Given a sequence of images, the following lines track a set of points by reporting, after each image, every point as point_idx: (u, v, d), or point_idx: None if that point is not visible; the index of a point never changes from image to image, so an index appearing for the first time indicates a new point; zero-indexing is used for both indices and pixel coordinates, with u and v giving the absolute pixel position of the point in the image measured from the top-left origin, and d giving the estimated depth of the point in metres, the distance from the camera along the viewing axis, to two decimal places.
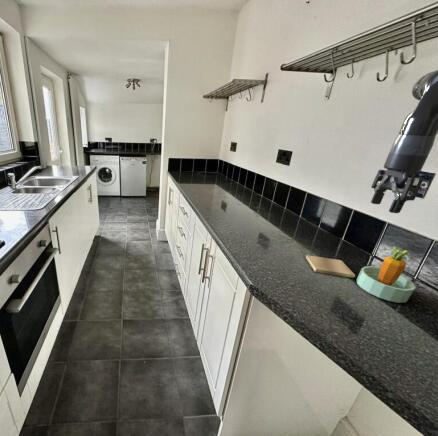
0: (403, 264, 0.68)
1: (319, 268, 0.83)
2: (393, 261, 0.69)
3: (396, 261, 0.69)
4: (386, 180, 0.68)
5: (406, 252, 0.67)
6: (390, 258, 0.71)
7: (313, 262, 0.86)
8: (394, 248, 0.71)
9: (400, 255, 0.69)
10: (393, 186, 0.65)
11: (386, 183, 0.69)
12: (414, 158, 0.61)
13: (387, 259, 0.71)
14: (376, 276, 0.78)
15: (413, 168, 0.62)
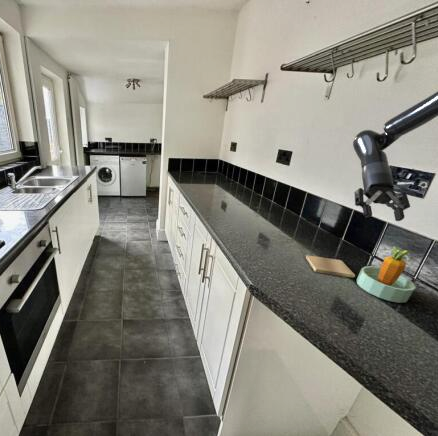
0: (403, 264, 0.68)
1: (319, 268, 0.83)
2: (393, 261, 0.69)
3: (396, 261, 0.69)
4: None
5: (406, 252, 0.67)
6: (390, 258, 0.71)
7: (313, 262, 0.86)
8: (394, 248, 0.71)
9: (400, 255, 0.69)
10: None
11: None
12: (363, 180, 0.84)
13: (387, 259, 0.71)
14: (376, 276, 0.78)
15: (366, 184, 0.82)
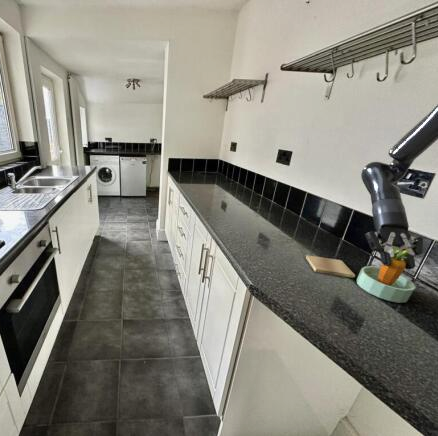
0: (403, 264, 0.68)
1: (319, 268, 0.83)
2: (393, 261, 0.69)
3: (396, 261, 0.69)
4: None
5: (406, 252, 0.67)
6: None
7: (313, 262, 0.86)
8: (394, 248, 0.71)
9: (400, 255, 0.69)
10: None
11: None
12: (374, 218, 0.76)
13: None
14: (376, 276, 0.78)
15: (377, 224, 0.74)
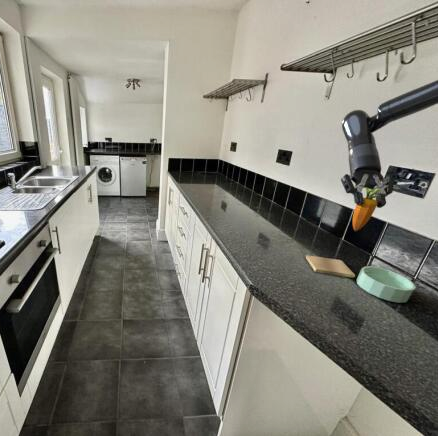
0: (375, 202, 0.71)
1: (319, 268, 0.83)
2: (365, 200, 0.72)
3: (368, 200, 0.72)
4: None
5: (377, 190, 0.70)
6: (363, 198, 0.73)
7: (313, 262, 0.86)
8: (367, 189, 0.73)
9: (372, 194, 0.72)
10: None
11: None
12: (350, 163, 0.79)
13: None
14: (376, 276, 0.78)
15: (352, 168, 0.77)
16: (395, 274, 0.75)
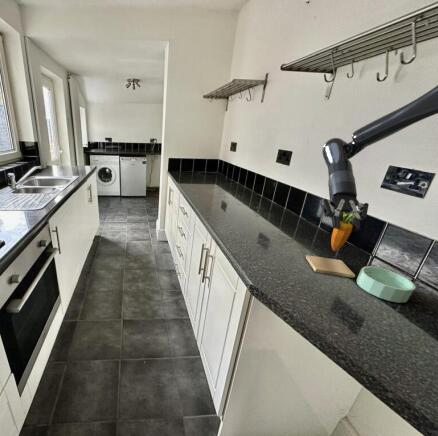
0: (350, 226, 0.78)
1: (319, 268, 0.83)
2: (342, 224, 0.79)
3: (344, 224, 0.78)
4: None
5: (352, 215, 0.77)
6: (340, 222, 0.80)
7: (313, 262, 0.86)
8: (343, 213, 0.80)
9: (347, 218, 0.78)
10: None
11: None
12: (329, 188, 0.85)
13: None
14: (376, 276, 0.78)
15: (331, 193, 0.84)
16: (395, 274, 0.75)
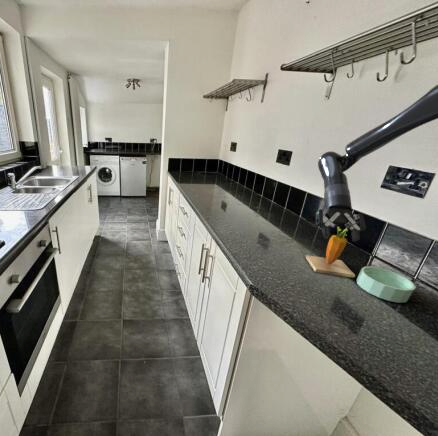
0: (344, 241, 0.80)
1: (319, 268, 0.83)
2: (336, 238, 0.81)
3: (338, 238, 0.81)
4: None
5: (346, 230, 0.79)
6: (334, 236, 0.82)
7: (313, 262, 0.86)
8: (338, 227, 0.82)
9: (341, 233, 0.80)
10: None
11: None
12: (325, 201, 0.87)
13: (331, 237, 0.82)
14: (376, 276, 0.78)
15: (326, 206, 0.85)
16: (395, 274, 0.75)
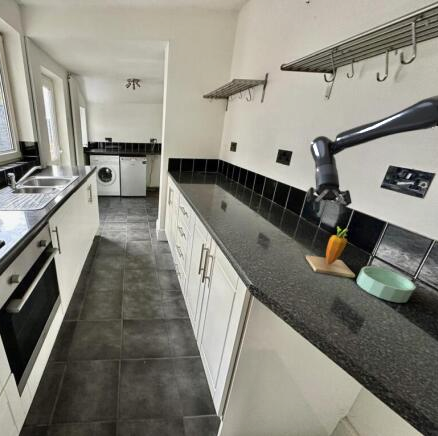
0: (344, 241, 0.80)
1: (319, 268, 0.83)
2: (336, 238, 0.81)
3: (338, 238, 0.81)
4: None
5: (346, 230, 0.79)
6: (334, 236, 0.82)
7: (313, 262, 0.86)
8: (338, 227, 0.82)
9: (341, 233, 0.80)
10: None
11: None
12: (316, 180, 0.97)
13: (331, 237, 0.82)
14: (376, 276, 0.78)
15: (317, 184, 0.95)
16: (395, 274, 0.75)
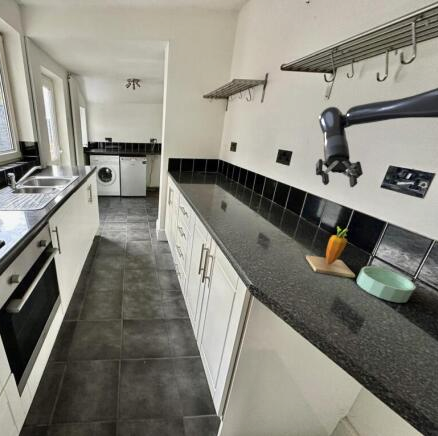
0: (344, 241, 0.80)
1: (319, 268, 0.83)
2: (336, 238, 0.81)
3: (338, 238, 0.81)
4: None
5: (346, 230, 0.79)
6: (334, 236, 0.82)
7: (313, 262, 0.86)
8: (338, 227, 0.82)
9: (341, 233, 0.80)
10: None
11: None
12: (324, 152, 0.92)
13: (331, 237, 0.82)
14: (376, 276, 0.78)
15: (326, 156, 0.91)
16: (395, 274, 0.75)
